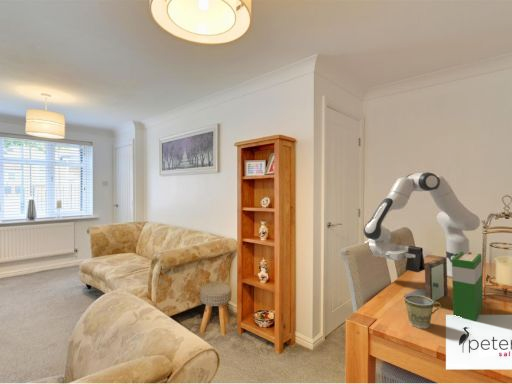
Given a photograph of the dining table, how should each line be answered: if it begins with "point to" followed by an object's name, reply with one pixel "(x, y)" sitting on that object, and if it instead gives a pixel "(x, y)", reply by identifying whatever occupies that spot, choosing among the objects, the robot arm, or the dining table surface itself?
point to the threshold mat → (418, 292)
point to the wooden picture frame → (429, 275)
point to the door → (437, 282)
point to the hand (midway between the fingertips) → (417, 256)
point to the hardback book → (467, 285)
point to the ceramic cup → (420, 310)
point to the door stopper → (415, 259)
